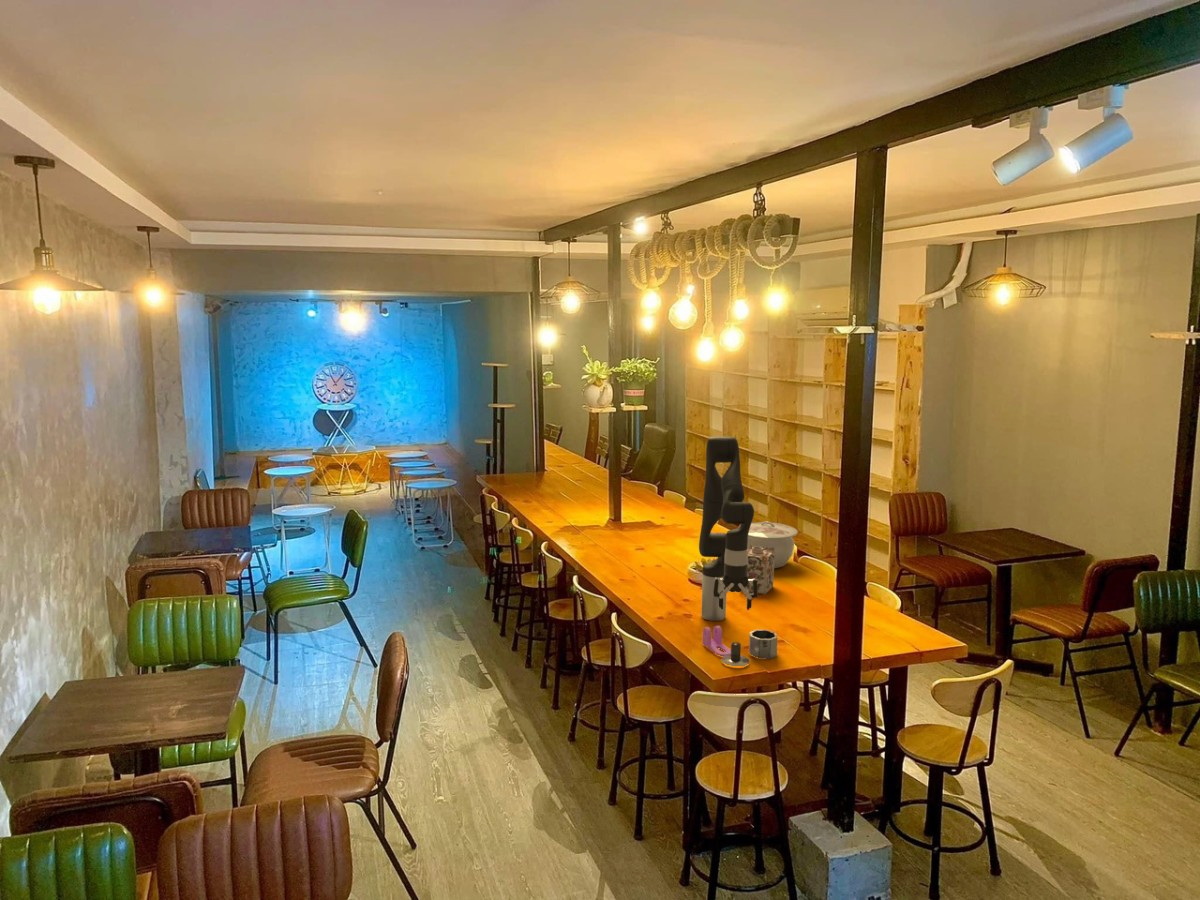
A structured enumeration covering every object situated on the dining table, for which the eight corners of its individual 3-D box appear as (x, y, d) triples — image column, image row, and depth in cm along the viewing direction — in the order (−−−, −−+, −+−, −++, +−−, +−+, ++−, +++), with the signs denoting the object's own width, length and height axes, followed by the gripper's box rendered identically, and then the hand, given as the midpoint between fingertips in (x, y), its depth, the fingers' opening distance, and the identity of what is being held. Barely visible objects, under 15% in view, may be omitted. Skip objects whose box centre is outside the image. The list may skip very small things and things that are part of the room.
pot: (747, 646, 291) (748, 627, 290) (773, 647, 291) (774, 627, 289) (751, 661, 279) (751, 641, 278) (778, 662, 278) (779, 642, 277)
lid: (720, 657, 282) (721, 638, 281) (747, 658, 282) (748, 639, 280) (722, 668, 273) (722, 649, 272) (750, 669, 273) (751, 650, 271)
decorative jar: (738, 590, 350) (739, 549, 347) (747, 582, 360) (748, 542, 357) (766, 595, 344) (767, 553, 341) (774, 586, 354) (775, 546, 351)
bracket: (702, 644, 293) (702, 626, 292) (716, 642, 295) (717, 624, 294) (720, 659, 281) (720, 639, 280) (734, 656, 283) (735, 637, 282)
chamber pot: (802, 574, 372) (804, 529, 368) (741, 573, 372) (742, 528, 369) (789, 555, 399) (791, 514, 396) (732, 555, 400) (733, 513, 397)
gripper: (757, 558, 275) (755, 605, 277) (713, 557, 276) (712, 604, 279) (759, 565, 267) (757, 613, 270) (714, 564, 269) (713, 612, 271)
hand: (734, 608), depth 274 cm, fingers open, 8 cm apart
